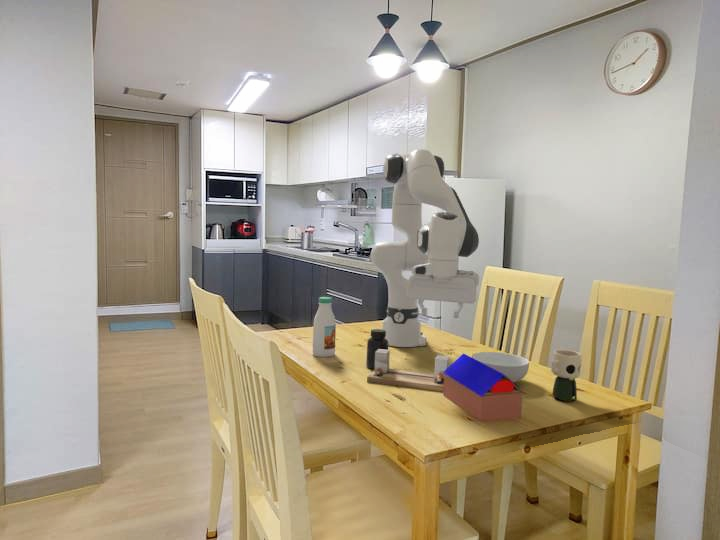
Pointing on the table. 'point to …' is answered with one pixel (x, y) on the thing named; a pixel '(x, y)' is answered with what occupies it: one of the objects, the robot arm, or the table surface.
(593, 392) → the table surface
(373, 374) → the board
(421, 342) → the robot arm
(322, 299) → the milk bottle
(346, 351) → the table surface
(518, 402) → the house
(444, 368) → the block
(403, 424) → the table surface
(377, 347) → the supplement bottle
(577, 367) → the character mug
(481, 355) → the cereal bowl
